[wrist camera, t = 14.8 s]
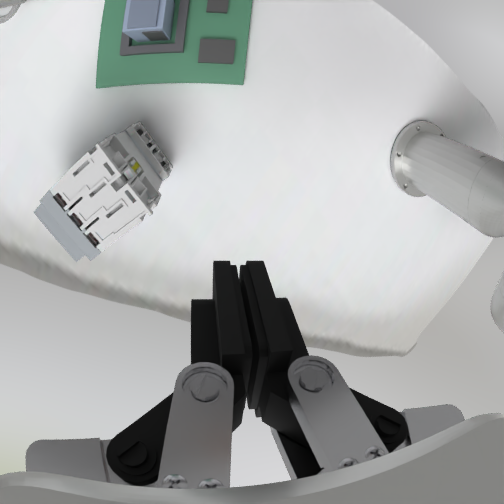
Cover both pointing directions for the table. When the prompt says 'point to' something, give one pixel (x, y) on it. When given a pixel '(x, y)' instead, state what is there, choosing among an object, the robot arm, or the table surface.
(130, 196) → the circuit breaker
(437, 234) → the table surface
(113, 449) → the robot arm
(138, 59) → the board
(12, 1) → the network device
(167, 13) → the plug
